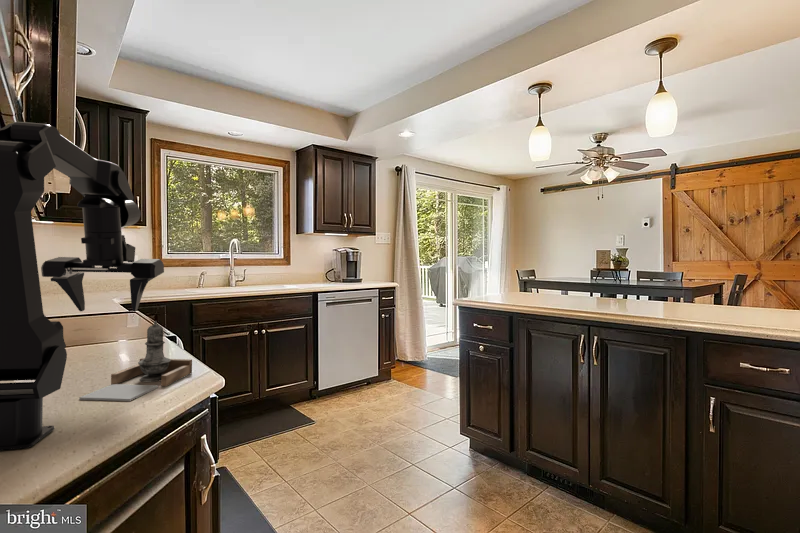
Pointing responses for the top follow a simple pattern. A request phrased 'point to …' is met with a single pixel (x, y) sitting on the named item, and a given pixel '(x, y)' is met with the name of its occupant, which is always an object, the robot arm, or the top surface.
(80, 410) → the top surface
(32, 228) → the robot arm
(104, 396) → the slate mat
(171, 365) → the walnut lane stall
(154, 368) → the salt shaker
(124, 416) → the top surface
